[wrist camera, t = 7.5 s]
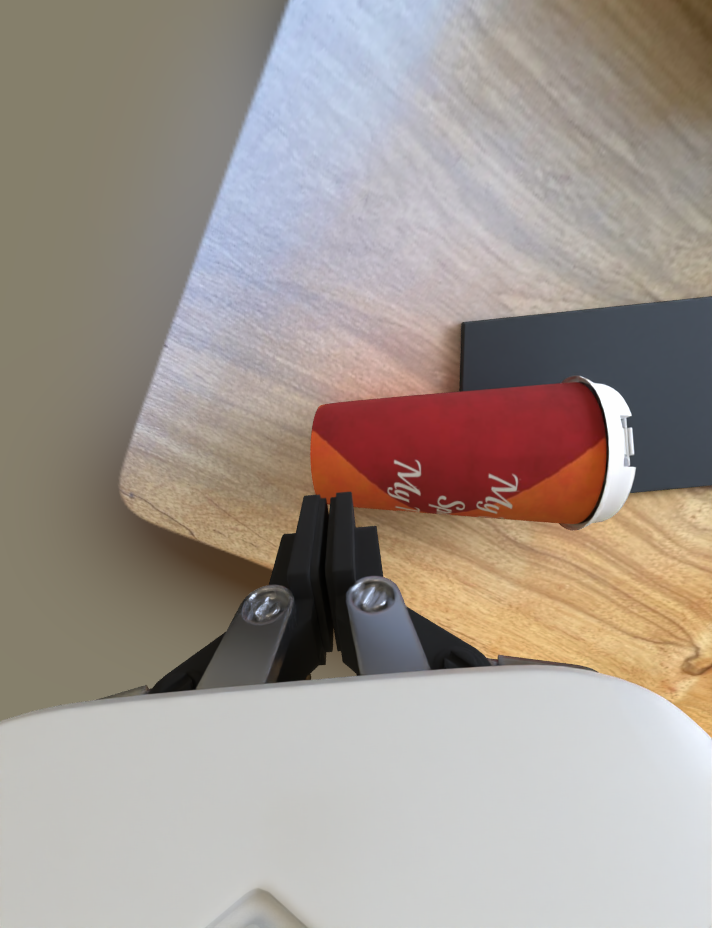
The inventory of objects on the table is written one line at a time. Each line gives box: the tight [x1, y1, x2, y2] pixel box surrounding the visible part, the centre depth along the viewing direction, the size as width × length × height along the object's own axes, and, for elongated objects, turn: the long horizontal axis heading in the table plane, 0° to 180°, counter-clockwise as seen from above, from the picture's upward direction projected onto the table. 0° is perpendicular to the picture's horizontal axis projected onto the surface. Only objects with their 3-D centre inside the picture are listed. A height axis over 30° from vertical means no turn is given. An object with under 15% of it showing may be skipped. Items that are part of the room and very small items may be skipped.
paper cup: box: [310, 376, 636, 530], centre depth 19 cm, size 8×8×14 cm
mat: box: [460, 296, 712, 493], centre depth 22 cm, size 30×12×1 cm, turn 95°
